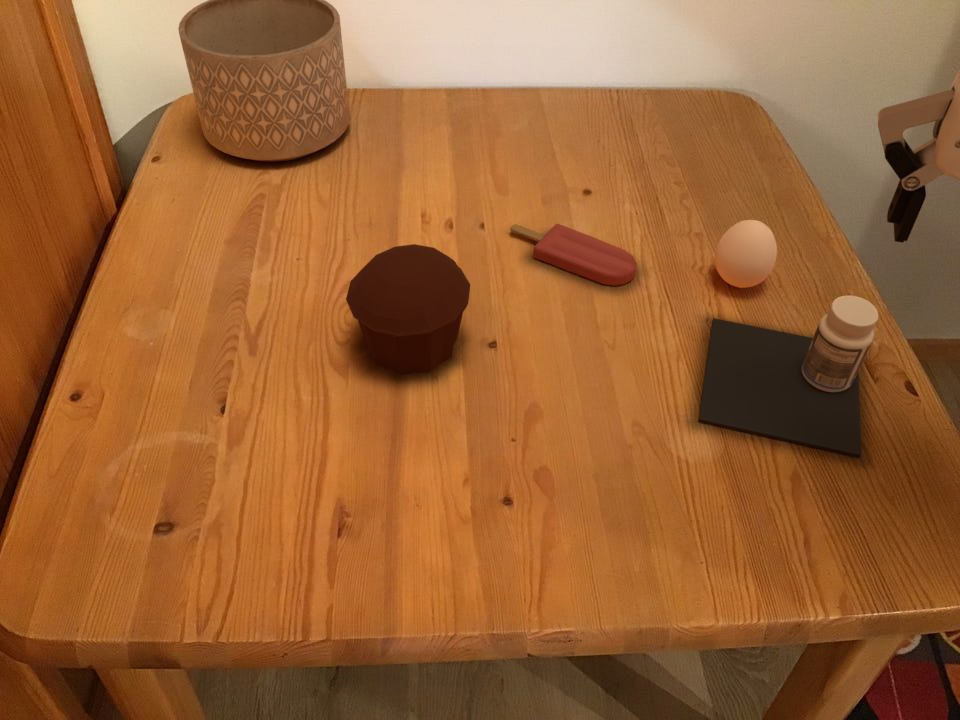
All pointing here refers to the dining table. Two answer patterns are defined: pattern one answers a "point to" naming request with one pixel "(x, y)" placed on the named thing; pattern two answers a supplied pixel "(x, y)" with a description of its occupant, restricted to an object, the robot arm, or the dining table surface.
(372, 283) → the muffin
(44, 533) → the dining table surface
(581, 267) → the popsicle
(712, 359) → the slate mat
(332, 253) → the dining table surface
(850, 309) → the pill bottle
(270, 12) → the planter
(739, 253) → the egg
